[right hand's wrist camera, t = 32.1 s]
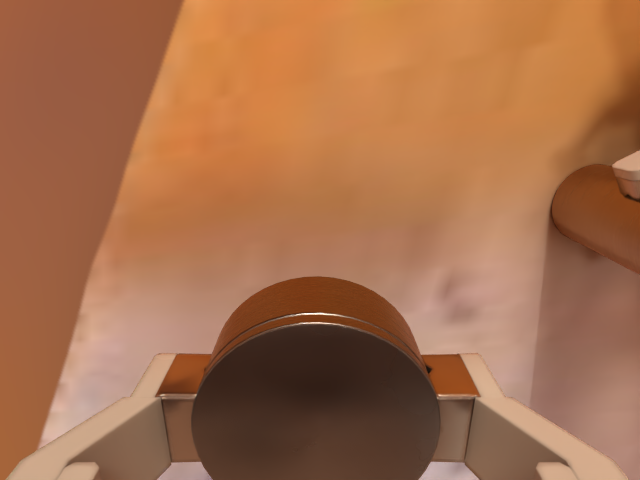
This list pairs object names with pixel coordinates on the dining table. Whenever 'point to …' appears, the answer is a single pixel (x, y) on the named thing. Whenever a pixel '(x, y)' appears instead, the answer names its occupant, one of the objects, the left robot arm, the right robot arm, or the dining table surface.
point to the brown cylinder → (599, 215)
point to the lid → (316, 389)
